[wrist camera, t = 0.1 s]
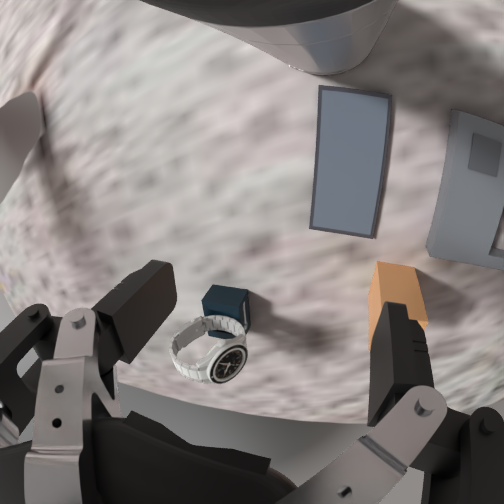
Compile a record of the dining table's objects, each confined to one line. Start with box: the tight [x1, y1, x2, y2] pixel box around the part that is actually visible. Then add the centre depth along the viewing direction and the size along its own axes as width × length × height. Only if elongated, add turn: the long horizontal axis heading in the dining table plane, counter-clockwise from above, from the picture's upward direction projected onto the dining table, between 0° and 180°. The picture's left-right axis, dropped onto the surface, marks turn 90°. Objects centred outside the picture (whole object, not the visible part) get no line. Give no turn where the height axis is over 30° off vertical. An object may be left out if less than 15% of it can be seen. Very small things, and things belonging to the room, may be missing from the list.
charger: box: [368, 261, 428, 351], centre depth 24 cm, size 4×4×8 cm
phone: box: [309, 85, 392, 239], centre depth 23 cm, size 6×13×1 cm, turn 179°
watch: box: [169, 285, 250, 384], centre depth 31 cm, size 6×8×11 cm
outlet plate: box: [426, 109, 504, 270], centre depth 19 cm, size 13×13×2 cm
